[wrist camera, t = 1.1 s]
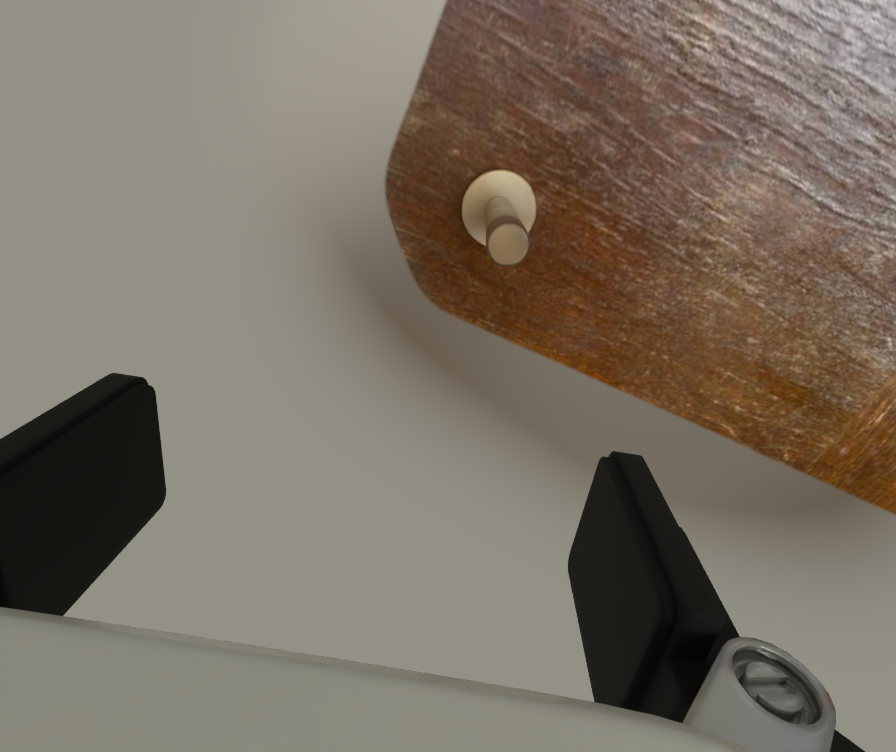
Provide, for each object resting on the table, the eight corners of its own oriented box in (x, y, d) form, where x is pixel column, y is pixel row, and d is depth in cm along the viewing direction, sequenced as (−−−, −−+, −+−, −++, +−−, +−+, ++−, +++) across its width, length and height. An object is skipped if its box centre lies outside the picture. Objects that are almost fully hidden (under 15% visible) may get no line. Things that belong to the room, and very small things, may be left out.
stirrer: (454, 181, 31) (433, 202, 18) (524, 159, 30) (555, 164, 17) (473, 251, 33) (467, 316, 20) (540, 231, 32) (579, 286, 19)
